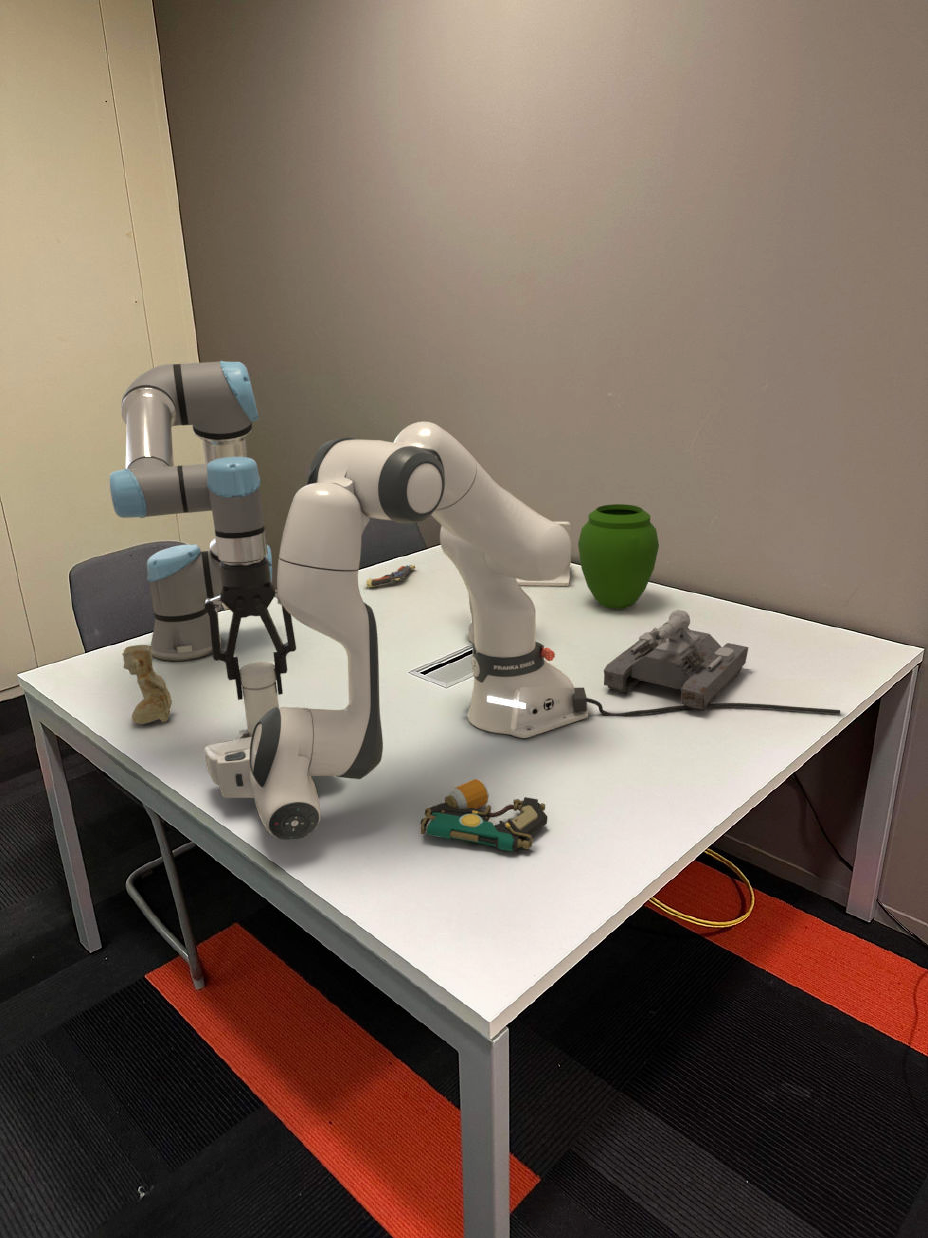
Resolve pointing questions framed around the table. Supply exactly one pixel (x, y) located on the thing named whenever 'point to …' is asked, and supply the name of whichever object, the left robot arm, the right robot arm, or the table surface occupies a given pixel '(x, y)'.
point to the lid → (257, 674)
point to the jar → (259, 703)
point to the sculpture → (147, 686)
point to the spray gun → (483, 818)
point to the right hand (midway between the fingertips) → (264, 729)
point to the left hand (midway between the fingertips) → (260, 693)
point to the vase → (618, 554)
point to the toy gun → (391, 576)
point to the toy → (678, 662)
